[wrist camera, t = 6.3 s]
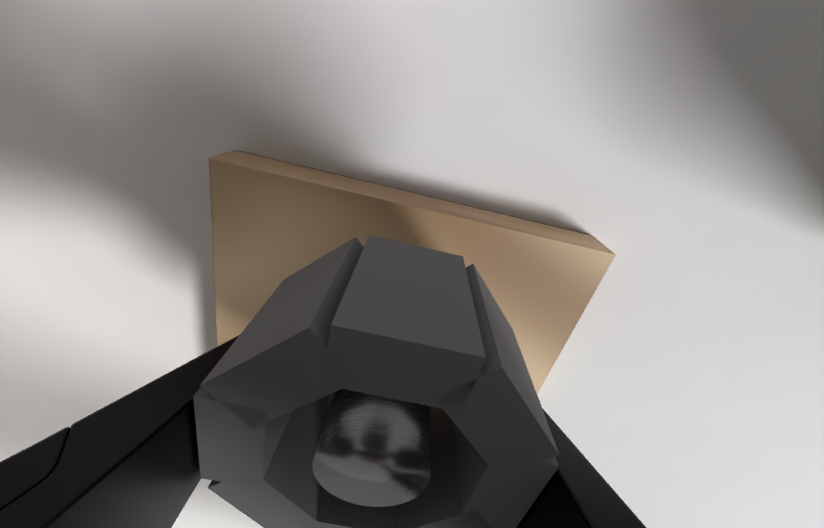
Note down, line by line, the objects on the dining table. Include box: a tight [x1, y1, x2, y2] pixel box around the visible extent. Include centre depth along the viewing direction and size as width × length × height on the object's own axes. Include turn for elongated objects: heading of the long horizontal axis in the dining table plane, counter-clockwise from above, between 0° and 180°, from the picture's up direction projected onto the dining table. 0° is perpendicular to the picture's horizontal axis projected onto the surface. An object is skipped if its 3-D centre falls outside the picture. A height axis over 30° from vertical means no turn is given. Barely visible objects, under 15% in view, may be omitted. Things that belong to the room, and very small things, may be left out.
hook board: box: [209, 151, 615, 393], centre depth 14 cm, size 16×12×2 cm
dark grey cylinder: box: [312, 389, 430, 507], centre depth 9 cm, size 2×2×6 cm
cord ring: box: [193, 235, 559, 528], centre depth 8 cm, size 6×6×4 cm
